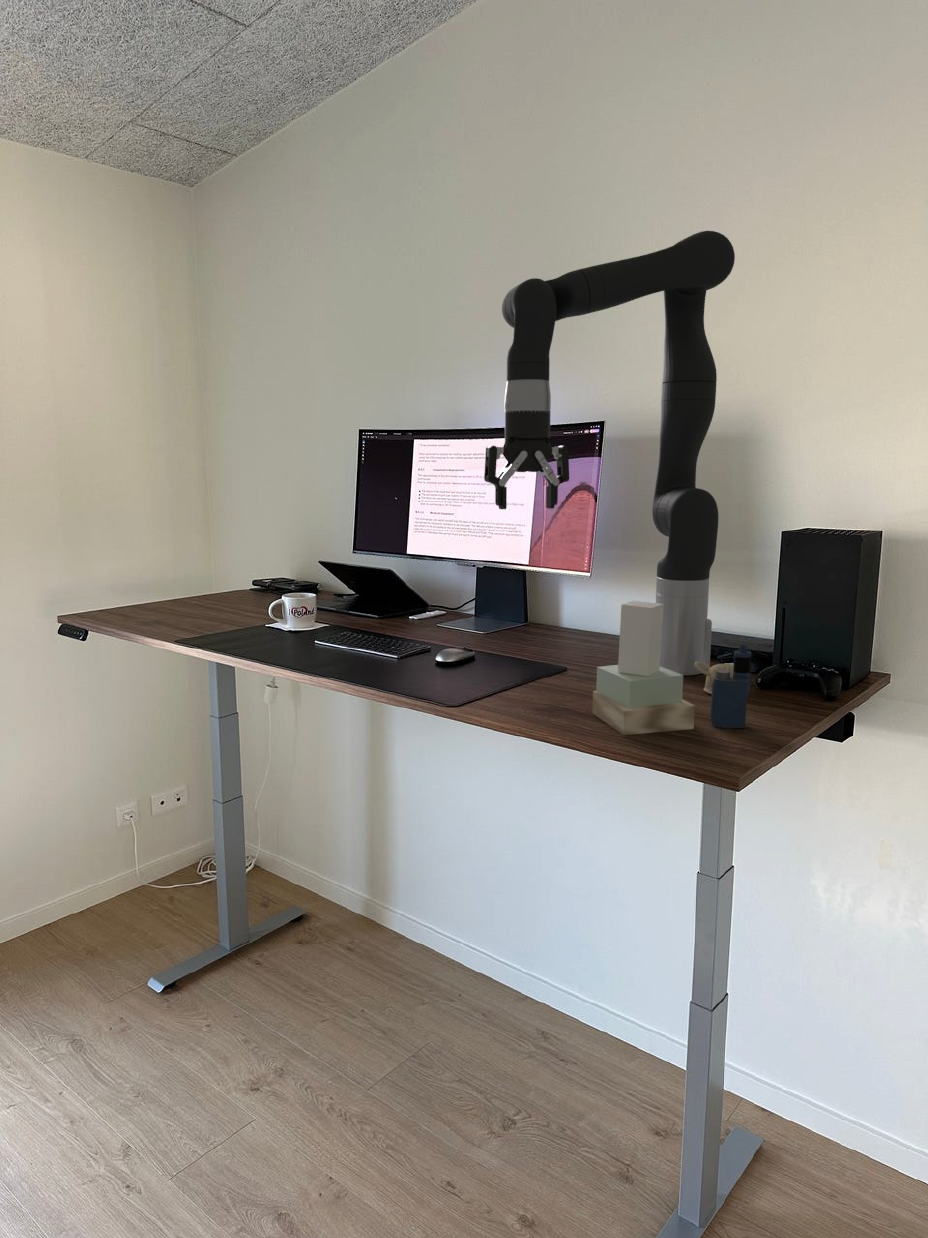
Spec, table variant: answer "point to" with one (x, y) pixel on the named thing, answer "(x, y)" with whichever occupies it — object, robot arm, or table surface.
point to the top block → (639, 687)
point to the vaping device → (731, 692)
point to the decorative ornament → (712, 673)
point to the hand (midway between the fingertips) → (526, 508)
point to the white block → (640, 638)
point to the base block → (644, 716)
